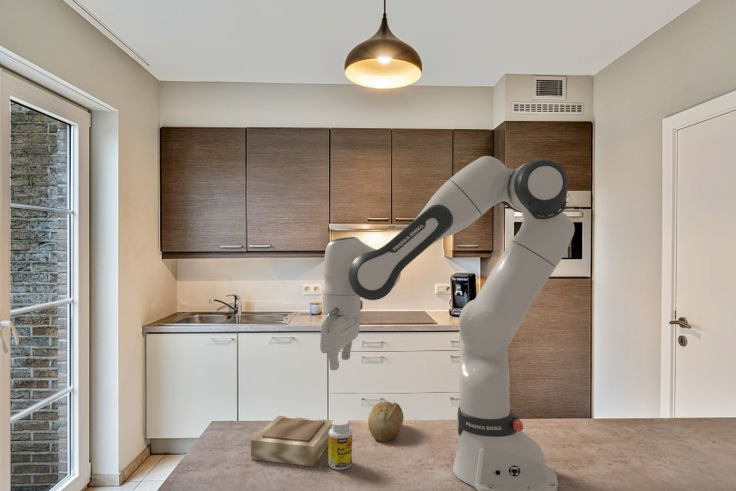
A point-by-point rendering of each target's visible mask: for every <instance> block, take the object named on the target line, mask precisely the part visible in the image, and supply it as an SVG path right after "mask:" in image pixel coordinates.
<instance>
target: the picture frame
mask: <svg viewBox="0 0 736 491" xmlns="http://www.w3.org/2000/svg"><path fill="white" fill-rule="evenodd" d="M333 421H334V420H329V419H317V418H307V417H298V416H285V415H278V416H277V417H275V418H274V419H273V420H272V421H271V422H270V423H268V424H267V425H266V426H265V427H264V428H263V429H262V430H261V431H260V432H258V433H257V434H256V435H255V436H254V437H252V439H250V460H256V461H257V460H258V461H265V462H266V461H267V462H275V463H282V464H292V465H301V466H305V467H306V466H308V467H314V466H315V465H316V463H317V462H318V461H319V460H320V458H321V457H322V455H323V454H324V452H325V451H326V450H327V448H329V430H330V429H331V428H332V422H333Z"/></svg>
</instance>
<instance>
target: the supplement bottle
mask: <svg viewBox="0 0 736 491" xmlns="http://www.w3.org/2000/svg"><path fill="white" fill-rule="evenodd" d="M332 421H333V422H332V428H331V429H330V430H329V445H328V461H327V462H328V466H329V467H330V468H331V469H333V470H336V471H342V470H343V471H344V470H347V469H349V468H350V467H352V463H353V431H352V429H351V428H350V423H349V422H350V421H349V420H348V419H345V418H336V419H333V420H332Z"/></svg>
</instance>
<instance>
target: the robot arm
mask: <svg viewBox="0 0 736 491" xmlns="http://www.w3.org/2000/svg"><path fill="white" fill-rule="evenodd" d="M568 190H569V177H568V174H567V172H566V170H565V169H564V168H563V166H562V165H561V164H559V163H557V161H553V160H552V159H547V158H546V159H544V158H537V159H534V160H530V161H527V162H526V163H523V164H521V165H520V166H519V167H515V168H509V167H507V166H506V165H505V164H504V163H503V162H502V161H501V160H499V159H498V158H496V157H494V156H490V155H483V156H481V157H479V158H477V159H475V160H473V161H472V162H470V163H469V164H467V165H466V166H464V167H463V168H462V169H460V170H459V171H458V172H456V173H455V174H454V175H453V176H451V177H450V178H448V180H447V181H446V182H444V183H443V185H441V186H440V187H439V188H438V189H437V191H436V192H435V193H434V194H433V195H432V196H431V198H430V199H429V200H428V202H427V203H426V205H425V206H424V207H423V209H422V210H421V211H420V212H419V214H418V215H417V216H416V218H415V219H414V220H413V221H412V222H410V223H409V224H408V225H407V226H406V227H404V228H403V229H402V230H401V231H400V232H399V233H398V234H396V235H395V236H394V237H393V238H392V239H391V240H389V241H388V242H387V243H386V244H384V245H383V246H381V247H380V248H378V249H376V248H373V247H371V246H370V245H368V244H366V243H364V242H363V241H361V240H360V239H359V237H355V236H347V237H340V238H336V239H333V240H331V241H329V242H328V244H326V248H325V252H324V257H323V258H324V259H323V278H324V288H323V290H322V313H323V314H324V315H327V316H326V317H325V318H323V320H322V323H321V329H320V330H321V331H320V339H319V340H320V343H319V344H320V345H319V347H320V352H321V353H322V354H327V357H328V362H329V369H330V371H337V370H338V369H339V367H340V361H339V352H340V351H341V350H342V352H341V360H342V361H348V360H350V358H351V350H352V346H353V341H354V340H355V339H357V337H358V335H359V332H360V325H361V324H360V323H361V311H362V310H363V306H364V304H363V302H364V301H363V300H362V299H364V300H368V301H377V300H381V299H384V298H385V297H387V295H389V294H390V292H391V291H392V290H393V289H394V288H395V287H396V285H397V284H398V283H399V281H400V278H401V272H402V271H403V270H404V269H405V268H406V267H407V266H408V265H409V264H410V263H412V262H413V261H414V260H416V259H417V257H419V256H420V255H421V254H422V253H423V252H424V251H426V250H427V249H428V248H429V247H430V246H432V245H434V244H435V243H437V242H438V241H440V240H442V239H444V238H446V237H450V236H452V235H455V234H457V233H459V232H461V231H462V230H465V229H466V228H467V227H468V226H471V225H472V224H474V223H475V222H476V221H477V220H479V218H481V217H482V216H483V215H484V214H485V213H486V212H488V211H489V210H490V209H492V207H494V206H495V205H497V204H499V203H500V204H503V205H504V206H505V207H507V208H510V210H513V211H515V212H518V213H521V214H522V222H521V226H520V227H519V230H518V231H517V233H516V234H515V236H513V238H512V239H511V241H510V242H509V244H508V246H507V247H506V249H505V250H504V251H503V252H502V254H501V256H500V257H499V259H498V260H497V262H496V263H495V264H494V266H493V268H492V269H491V271H490V273H489V275H488V276H487V279H486V280H485V282H484V283H483V285H482V287H481V289H480V290H479V292H478V294H476V297H475V299H472V300H470V301H468V302H467V303H466V304H465V305H464V306H463V308H462V309H461V311H460V313H459V319H458V320H459V322H458V325H459V332H458V334H459V340H458V341H459V406H458V409H457V414H456V416H457V417H456V418H457V419H456V420H457V421H456V423H457V424H456V425H457V434H458V437H457V438H458V441H457V448H456V453H455V459H454V461H453V464H452V472H453V474H454V475H455V476H456V478H458V479H459V480H460V481H462V482H463V483H465V484H467V485H470V486H472V487H473V488H475V489H476V490H477V491H558V490H559V481H558V476H557V474H556V471H554V469H553V467H552V466H551V465H549V464H548V463H547V461H546V457H545V454H544V451H543V450H542V448H541V446H540V445H539V444H538V443H537V441H535V440H534V439H532V437H530V436H528V435H527V434H526V433H525V432H523V430H524V425H523V421H522V420H520V417H519V415H517V413H516V410H514V411H512V410H510V409H511V406H510V405H511V401H510V400H511V399H510V394H511V392H510V390H511V389H510V386H511V380H510V379H511V378H510V366H509V356H508V355H509V354H508V348H509V347H510V345H511V343H512V341H513V339H514V337H515V336H516V334H517V332H518V331H519V329H520V328H521V326H522V324H523V322H524V320H525V318H526V316H527V315H528V312H529V310H530V308H531V306H532V304H533V302H534V301H535V299H536V297H537V296H538V294H539V293H540V291H541V290H542V289H543V287H544V286H545V284H546V282H547V281H548V280H549V279H550V277H551V276H552V274H553V273H554V271H555V270H556V268H557V266H558V265H559V264H560V262H561V261H562V258H563V257H564V256H565V254H566V252H567V250H568V248H569V246H570V244H571V242H572V240H573V237H574V234H575V230H576V228H575V224H574V222H573V220H572V219H571V218H570V217H569V215H568V214H566V213H565V212H564V211H565V209H566V208H567V194H568ZM361 298H362V299H361Z"/></svg>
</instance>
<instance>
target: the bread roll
mask: <svg viewBox="0 0 736 491" xmlns="http://www.w3.org/2000/svg"><path fill="white" fill-rule="evenodd" d="M367 421H368V422H367V423H368V424H367V425H368V430H369V432H370V435H371V436H372V438H373V439H375V440H376V441H378V442H387V441H390V440H392V439H393V438H395V436H396V435H397V434H398V433H399V431H400V428H401V427H402V425H403V422H404V413H403V410H402V407H401V406H400V404H399V403H396V402H395V401H393V403H391V402H389V401H384V402H383V401H382V402H378V403H376V404H375V405H374V406H373V407H372V408H371V410H370V412H369V415H368V420H367Z"/></svg>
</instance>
